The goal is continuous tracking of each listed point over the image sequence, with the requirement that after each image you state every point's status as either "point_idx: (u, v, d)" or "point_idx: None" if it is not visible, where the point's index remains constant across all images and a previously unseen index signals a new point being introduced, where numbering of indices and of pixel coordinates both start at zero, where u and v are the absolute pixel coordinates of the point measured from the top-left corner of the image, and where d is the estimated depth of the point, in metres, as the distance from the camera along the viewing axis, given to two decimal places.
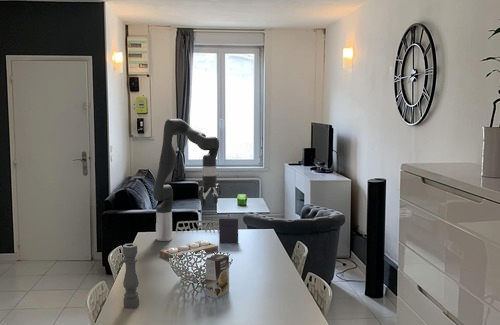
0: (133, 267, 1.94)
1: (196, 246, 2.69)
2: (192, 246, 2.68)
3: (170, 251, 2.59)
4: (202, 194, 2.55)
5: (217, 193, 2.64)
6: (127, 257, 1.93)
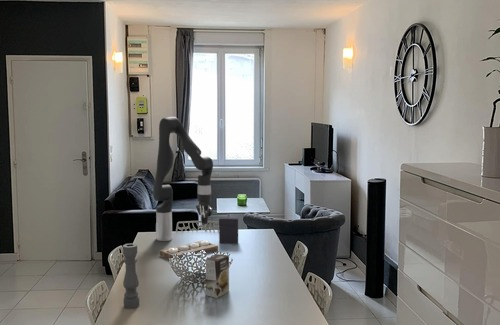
0: (133, 267, 1.94)
1: (196, 246, 2.69)
2: (192, 246, 2.68)
3: (170, 251, 2.59)
4: None
5: None
6: (127, 257, 1.93)
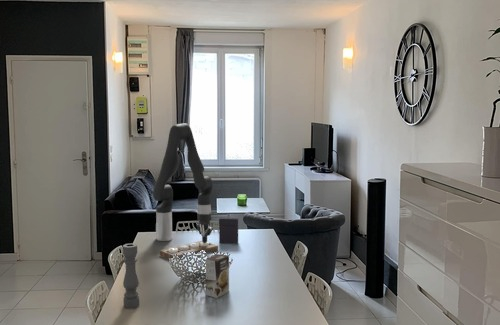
0: (133, 267, 1.94)
1: (196, 246, 2.69)
2: (192, 246, 2.68)
3: (170, 251, 2.59)
4: None
5: None
6: (127, 257, 1.93)
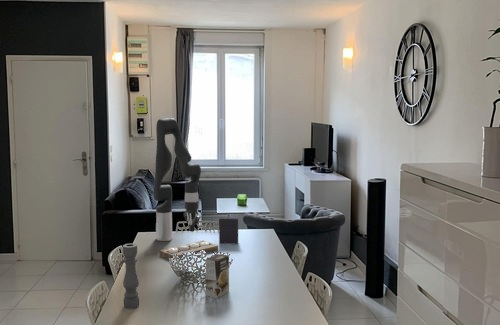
0: (133, 267, 1.94)
1: (196, 246, 2.69)
2: (192, 246, 2.68)
3: (170, 251, 2.59)
4: None
5: None
6: (127, 257, 1.93)
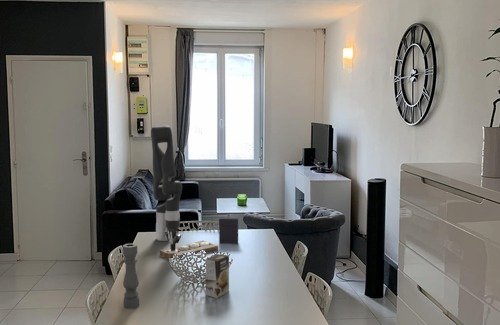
0: (133, 267, 1.94)
1: (196, 246, 2.69)
2: (192, 246, 2.68)
3: (170, 252, 2.59)
4: None
5: None
6: (127, 257, 1.93)
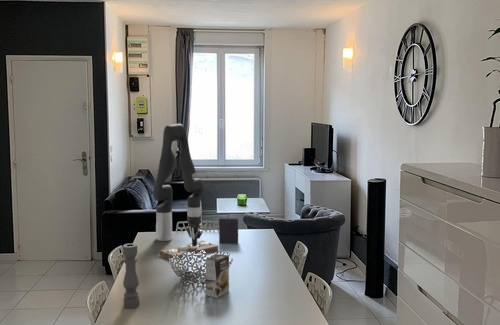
0: (133, 267, 1.94)
1: (196, 247, 2.69)
2: (192, 247, 2.68)
3: (170, 252, 2.59)
4: None
5: None
6: (127, 257, 1.93)
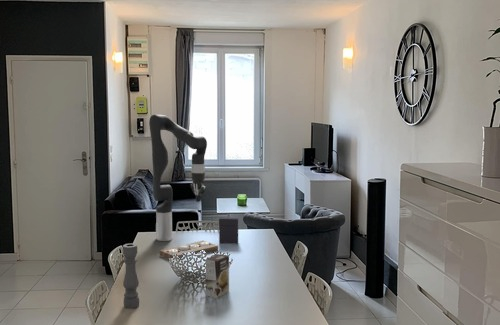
0: (133, 267, 1.94)
1: (196, 247, 2.69)
2: (192, 247, 2.68)
3: (170, 252, 2.59)
4: None
5: None
6: (127, 257, 1.93)
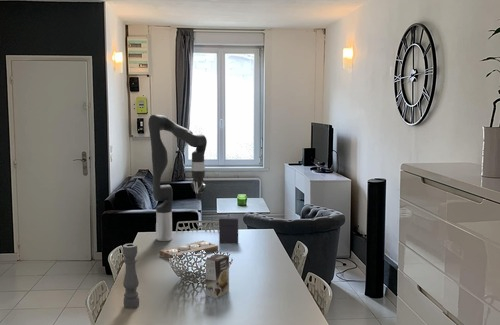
0: (133, 267, 1.94)
1: (196, 247, 2.69)
2: (192, 247, 2.68)
3: (170, 252, 2.59)
4: None
5: None
6: (127, 257, 1.93)
